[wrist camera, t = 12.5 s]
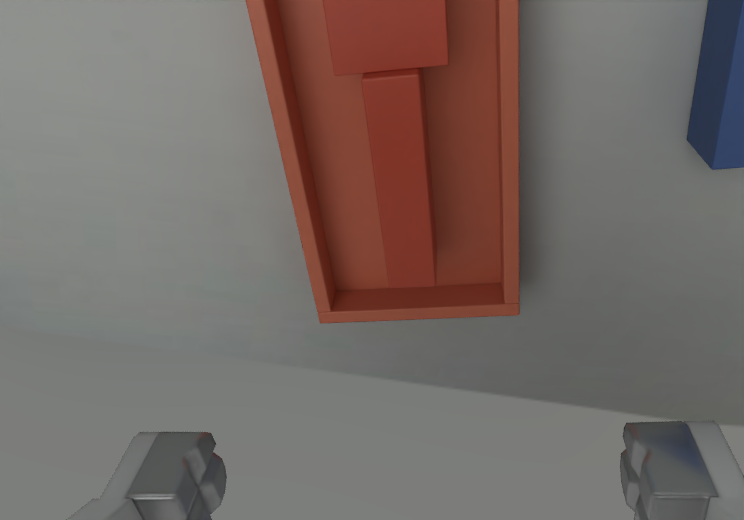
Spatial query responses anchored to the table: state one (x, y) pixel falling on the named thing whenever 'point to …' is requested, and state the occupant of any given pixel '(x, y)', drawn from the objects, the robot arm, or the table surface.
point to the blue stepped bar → (720, 88)
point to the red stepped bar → (395, 117)
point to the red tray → (355, 171)
